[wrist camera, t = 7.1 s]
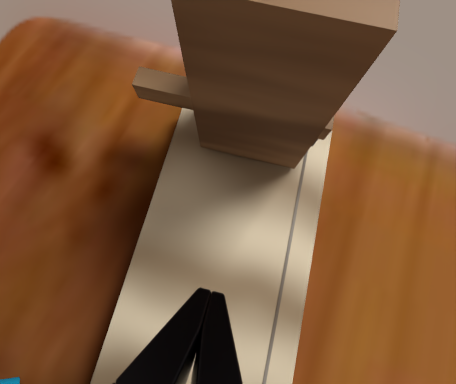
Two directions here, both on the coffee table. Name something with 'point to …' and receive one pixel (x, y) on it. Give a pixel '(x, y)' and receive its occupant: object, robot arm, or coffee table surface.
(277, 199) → the pine board
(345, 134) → the coffee table surface
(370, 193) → the coffee table surface
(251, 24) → the tan knobbed block
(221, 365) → the robot arm
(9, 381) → the gear
